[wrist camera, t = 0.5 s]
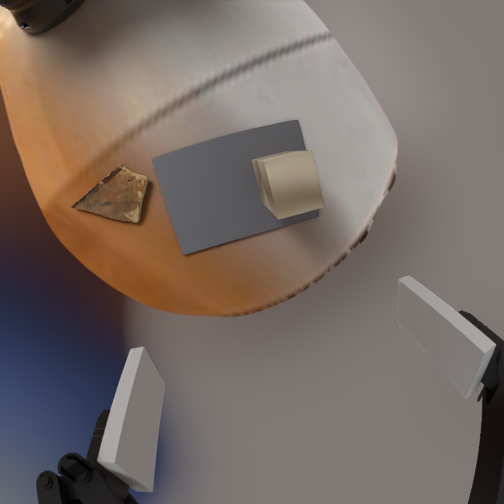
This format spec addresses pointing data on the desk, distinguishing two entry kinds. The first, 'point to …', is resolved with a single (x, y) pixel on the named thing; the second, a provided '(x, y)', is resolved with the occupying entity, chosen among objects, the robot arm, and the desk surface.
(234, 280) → the desk surface
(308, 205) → the birch block
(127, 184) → the shard
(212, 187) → the rubber mat
